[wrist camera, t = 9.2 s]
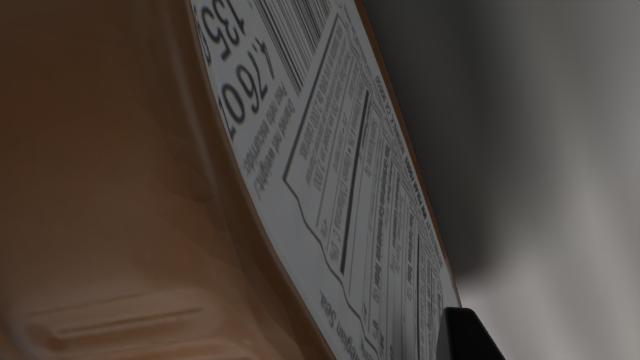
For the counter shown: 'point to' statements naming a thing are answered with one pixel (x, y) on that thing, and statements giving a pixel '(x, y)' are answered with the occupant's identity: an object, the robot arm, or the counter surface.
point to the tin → (209, 186)
